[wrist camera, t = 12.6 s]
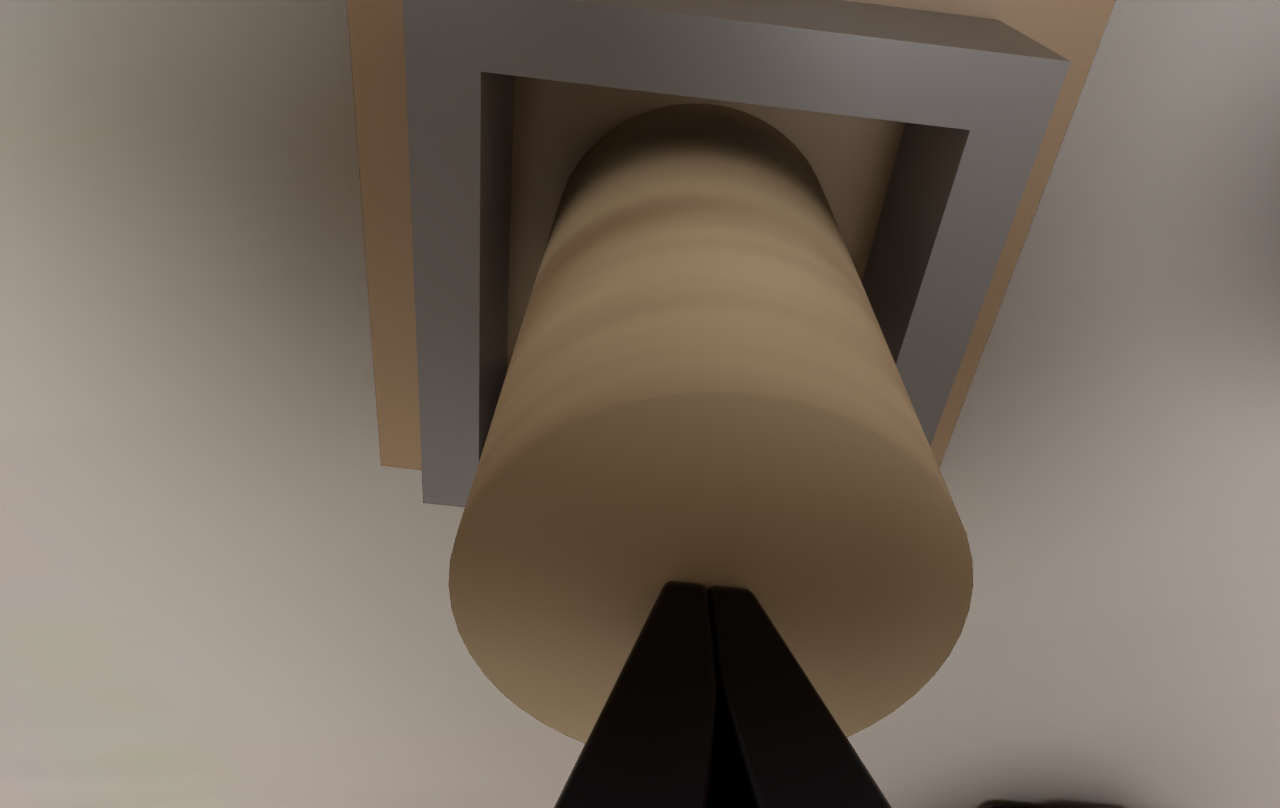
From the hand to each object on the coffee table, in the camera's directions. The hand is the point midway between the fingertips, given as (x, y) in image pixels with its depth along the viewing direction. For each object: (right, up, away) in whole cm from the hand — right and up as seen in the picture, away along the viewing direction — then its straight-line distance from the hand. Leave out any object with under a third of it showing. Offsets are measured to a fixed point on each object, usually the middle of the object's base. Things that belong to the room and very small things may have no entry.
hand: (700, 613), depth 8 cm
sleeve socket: (0, +6, +8) cm, 10 cm away
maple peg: (0, +5, +7) cm, 9 cm away
